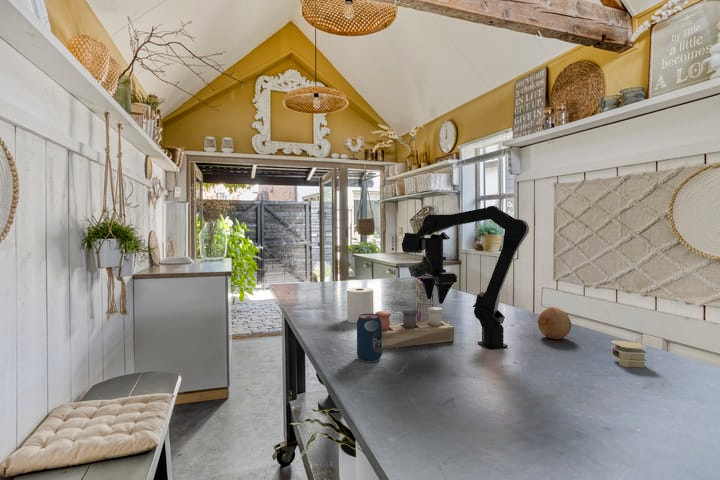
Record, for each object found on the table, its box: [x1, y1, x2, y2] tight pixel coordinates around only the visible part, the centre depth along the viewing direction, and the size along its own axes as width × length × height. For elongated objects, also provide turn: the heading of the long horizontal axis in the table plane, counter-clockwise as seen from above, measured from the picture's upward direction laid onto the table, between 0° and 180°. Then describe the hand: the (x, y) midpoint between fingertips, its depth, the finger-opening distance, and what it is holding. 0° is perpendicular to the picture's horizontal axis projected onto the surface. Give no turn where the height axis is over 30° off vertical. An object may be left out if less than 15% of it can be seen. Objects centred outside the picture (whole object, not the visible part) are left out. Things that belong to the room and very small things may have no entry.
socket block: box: [382, 320, 455, 350], centre depth 124 cm, size 10×26×4 cm, turn 107°
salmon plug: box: [374, 310, 392, 331], centre depth 122 cm, size 5×5×6 cm
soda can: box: [356, 313, 383, 363], centre depth 108 cm, size 7×7×12 cm
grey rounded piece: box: [401, 308, 417, 329], centre depth 124 cm, size 5×5×6 cm
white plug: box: [428, 306, 443, 326], centre depth 127 cm, size 5×5×6 cm
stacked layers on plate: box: [610, 339, 648, 368], centre depth 102 cm, size 10×9×6 cm
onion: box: [537, 306, 572, 340], centre depth 125 cm, size 10×10×10 cm
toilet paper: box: [346, 287, 374, 324], centre depth 151 cm, size 10×10×12 cm
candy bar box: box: [415, 278, 434, 321], centre depth 142 cm, size 11×5×16 cm, turn 179°
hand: (434, 301), depth 127 cm, fingers open, 8 cm apart
